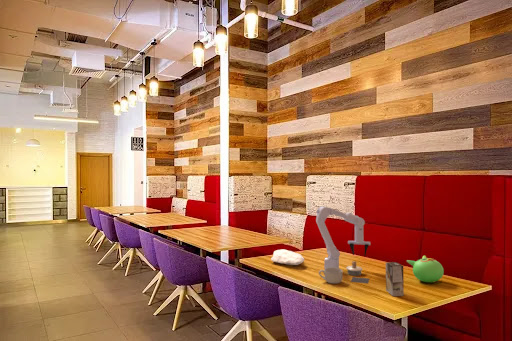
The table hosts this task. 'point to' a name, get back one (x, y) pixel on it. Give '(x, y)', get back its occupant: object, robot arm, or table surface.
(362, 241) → the robot arm
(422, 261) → the green teapot
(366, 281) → the mat
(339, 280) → the teacup
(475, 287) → the table surface
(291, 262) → the crumpled cloth
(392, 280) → the coffee box
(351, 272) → the bowl
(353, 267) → the lid
